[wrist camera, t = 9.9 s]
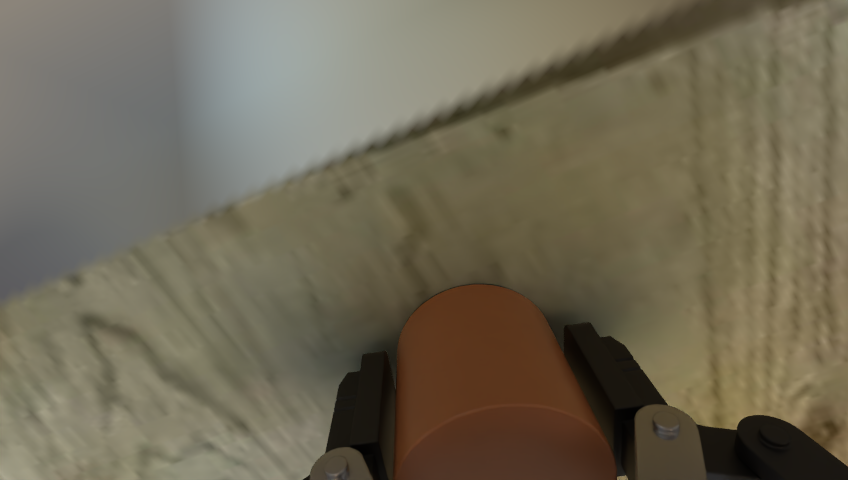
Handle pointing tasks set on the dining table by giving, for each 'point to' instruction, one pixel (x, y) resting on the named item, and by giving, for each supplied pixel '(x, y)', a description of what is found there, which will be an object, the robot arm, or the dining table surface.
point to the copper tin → (490, 395)
